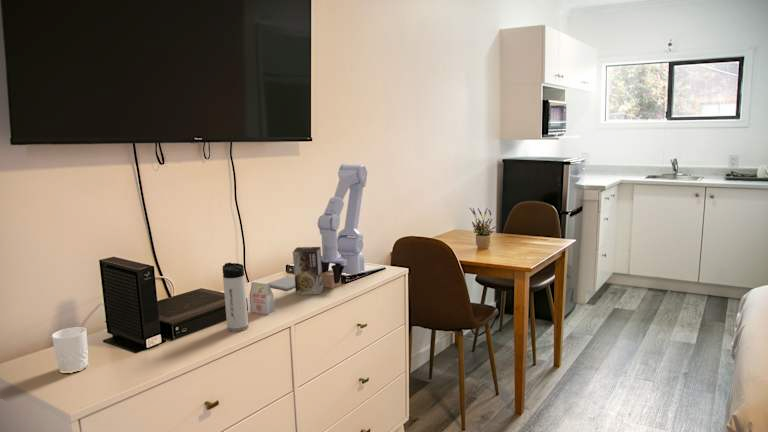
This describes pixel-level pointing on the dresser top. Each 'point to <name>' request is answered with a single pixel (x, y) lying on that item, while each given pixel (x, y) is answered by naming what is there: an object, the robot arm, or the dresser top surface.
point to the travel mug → (235, 296)
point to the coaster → (283, 283)
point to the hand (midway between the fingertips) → (331, 281)
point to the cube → (329, 279)
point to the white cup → (71, 348)
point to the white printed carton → (261, 298)
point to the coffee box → (308, 270)
